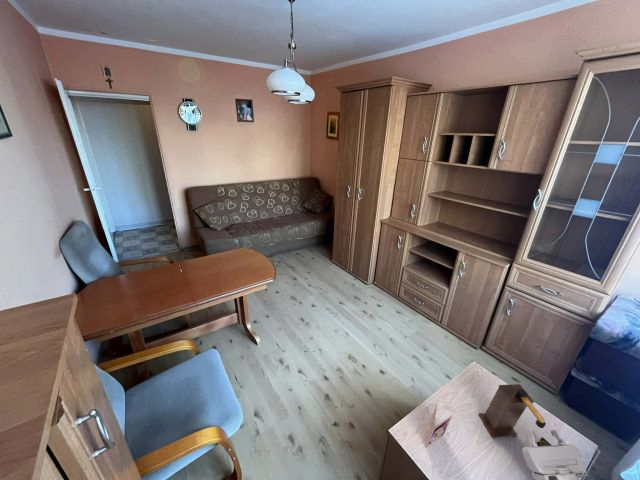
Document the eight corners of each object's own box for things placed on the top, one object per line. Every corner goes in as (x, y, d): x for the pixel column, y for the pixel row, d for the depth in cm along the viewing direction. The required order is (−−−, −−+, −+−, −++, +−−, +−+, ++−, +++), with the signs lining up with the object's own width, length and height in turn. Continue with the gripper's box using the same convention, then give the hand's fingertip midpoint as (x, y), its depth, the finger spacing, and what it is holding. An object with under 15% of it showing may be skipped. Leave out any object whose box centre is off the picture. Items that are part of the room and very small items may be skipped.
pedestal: (516, 436, 120) (538, 404, 109) (491, 438, 119) (511, 405, 108) (501, 414, 129) (520, 382, 118) (478, 415, 128) (495, 382, 117)
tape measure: (557, 455, 114) (561, 451, 112) (549, 464, 111) (553, 459, 109) (539, 440, 119) (543, 435, 118) (531, 447, 116) (535, 443, 114)
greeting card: (427, 449, 113) (435, 429, 107) (414, 432, 119) (421, 412, 113) (445, 437, 118) (454, 417, 112) (431, 421, 124) (440, 401, 117)
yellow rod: (546, 428, 101) (550, 422, 100) (538, 428, 101) (542, 422, 99) (520, 394, 113) (523, 388, 112) (513, 394, 113) (516, 388, 111)
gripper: (596, 478, 92) (573, 429, 99) (543, 482, 90) (524, 432, 97) (580, 475, 97) (559, 429, 105) (529, 478, 95) (512, 431, 103)
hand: (542, 430), depth 101 cm, fingers open, 8 cm apart
